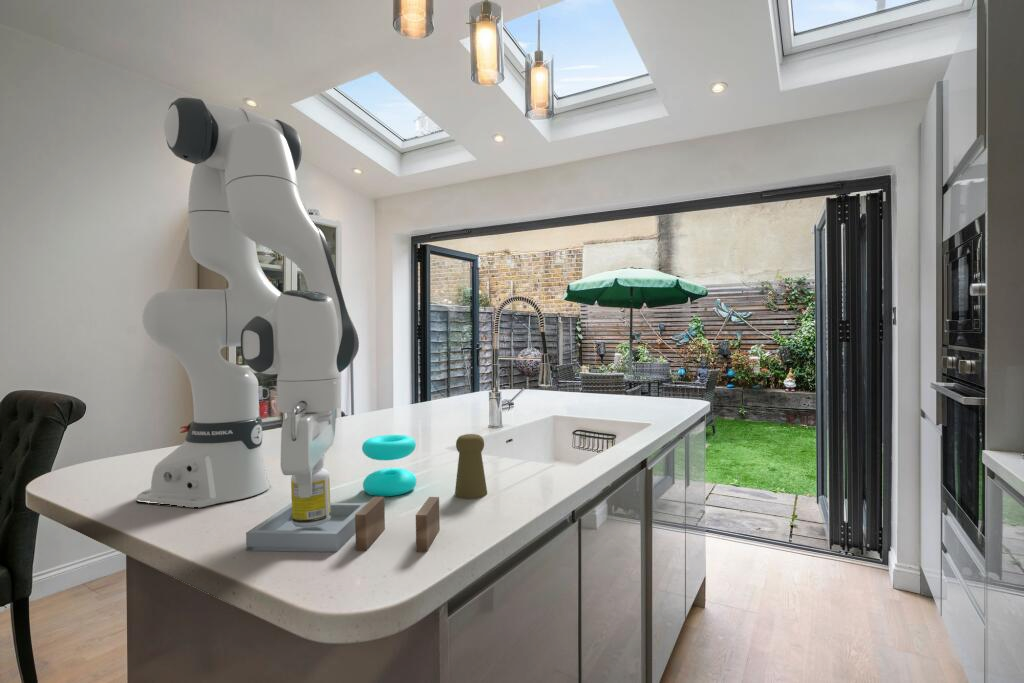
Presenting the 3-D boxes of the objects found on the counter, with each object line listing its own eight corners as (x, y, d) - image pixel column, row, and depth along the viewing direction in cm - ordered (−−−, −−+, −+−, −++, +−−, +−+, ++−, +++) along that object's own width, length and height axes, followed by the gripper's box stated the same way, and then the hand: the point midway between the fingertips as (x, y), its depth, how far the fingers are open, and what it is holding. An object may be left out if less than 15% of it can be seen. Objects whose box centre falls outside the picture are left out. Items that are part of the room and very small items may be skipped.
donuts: (351, 442, 97) (378, 432, 107) (352, 496, 97) (379, 481, 107) (400, 444, 95) (423, 434, 104) (401, 500, 95) (425, 484, 104)
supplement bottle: (306, 516, 82) (305, 453, 83) (337, 517, 81) (336, 453, 82) (284, 527, 77) (282, 459, 77) (316, 528, 76) (315, 460, 76)
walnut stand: (355, 550, 73) (355, 514, 73) (375, 529, 81) (374, 496, 81) (427, 551, 72) (426, 515, 72) (439, 529, 80) (439, 496, 80)
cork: (482, 499, 94) (481, 438, 94) (450, 498, 95) (449, 437, 95) (490, 489, 100) (489, 432, 100) (460, 488, 101) (459, 431, 101)
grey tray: (246, 550, 73) (246, 532, 73) (292, 517, 86) (292, 502, 86) (336, 551, 72) (336, 533, 72) (369, 518, 85) (369, 503, 85)
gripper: (317, 406, 69) (319, 510, 70) (341, 390, 90) (343, 470, 90) (266, 408, 68) (269, 514, 69) (302, 391, 89) (304, 473, 89)
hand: (311, 489), depth 79 cm, fingers closed on supplement bottle, 5 cm apart
